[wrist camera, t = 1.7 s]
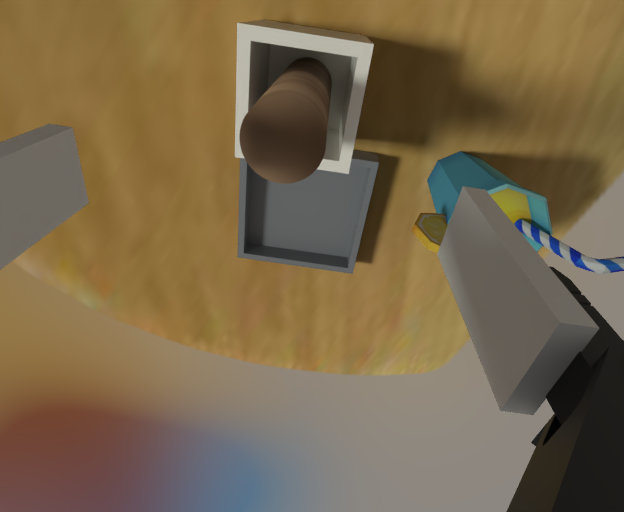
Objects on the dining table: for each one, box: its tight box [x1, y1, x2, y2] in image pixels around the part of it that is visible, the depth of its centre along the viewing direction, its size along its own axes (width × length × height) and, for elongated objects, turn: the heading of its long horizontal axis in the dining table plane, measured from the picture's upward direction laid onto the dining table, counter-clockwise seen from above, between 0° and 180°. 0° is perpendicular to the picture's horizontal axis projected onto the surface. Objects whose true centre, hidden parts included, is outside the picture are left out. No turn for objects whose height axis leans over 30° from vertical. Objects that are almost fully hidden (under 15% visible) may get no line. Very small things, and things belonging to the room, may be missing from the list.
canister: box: [235, 19, 374, 174], centre depth 28 cm, size 8×8×9 cm
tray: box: [238, 150, 379, 274], centre depth 36 cm, size 12×12×2 cm
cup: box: [411, 151, 624, 274], centre depth 29 cm, size 14×8×15 cm, turn 94°
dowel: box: [239, 57, 332, 184], centre depth 24 cm, size 4×4×16 cm
